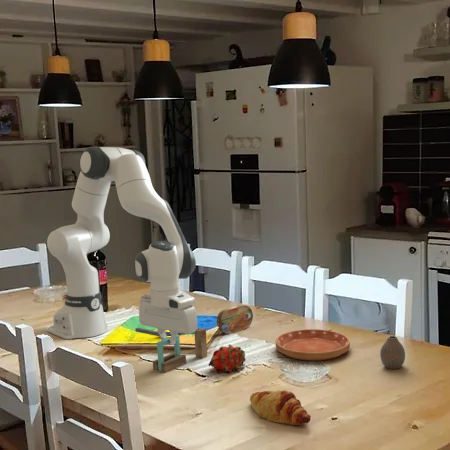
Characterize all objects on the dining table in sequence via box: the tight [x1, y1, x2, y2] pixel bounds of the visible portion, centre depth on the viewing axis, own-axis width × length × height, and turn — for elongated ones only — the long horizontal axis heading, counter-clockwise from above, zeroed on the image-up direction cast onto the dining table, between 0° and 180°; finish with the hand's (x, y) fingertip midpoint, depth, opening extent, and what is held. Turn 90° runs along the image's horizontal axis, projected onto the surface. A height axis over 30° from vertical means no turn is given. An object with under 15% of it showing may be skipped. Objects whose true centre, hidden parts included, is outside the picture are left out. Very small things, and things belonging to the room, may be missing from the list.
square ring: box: [156, 335, 181, 372], centre depth 203 cm, size 1×8×8 cm, turn 142°
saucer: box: [275, 328, 351, 361], centre depth 215 cm, size 23×23×4 cm
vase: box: [379, 335, 406, 370], centre depth 197 cm, size 7×7×9 cm
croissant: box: [249, 389, 311, 426], centre depth 168 cm, size 21×10×8 cm, turn 38°
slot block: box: [152, 352, 187, 373], centre depth 203 cm, size 5×9×4 cm, turn 142°
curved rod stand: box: [135, 327, 208, 359], centre depth 212 cm, size 21×12×10 cm, turn 52°
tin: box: [216, 304, 254, 335], centre depth 239 cm, size 15×3×8 cm, turn 131°
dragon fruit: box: [208, 344, 246, 374], centre depth 199 cm, size 8×8×12 cm
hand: (168, 343), depth 202 cm, fingers closed on square ring, 1 cm apart
